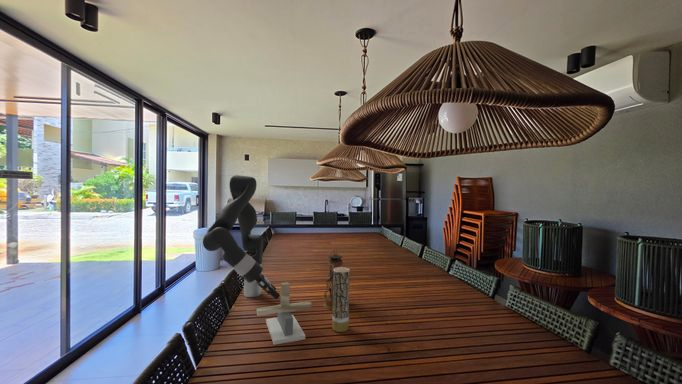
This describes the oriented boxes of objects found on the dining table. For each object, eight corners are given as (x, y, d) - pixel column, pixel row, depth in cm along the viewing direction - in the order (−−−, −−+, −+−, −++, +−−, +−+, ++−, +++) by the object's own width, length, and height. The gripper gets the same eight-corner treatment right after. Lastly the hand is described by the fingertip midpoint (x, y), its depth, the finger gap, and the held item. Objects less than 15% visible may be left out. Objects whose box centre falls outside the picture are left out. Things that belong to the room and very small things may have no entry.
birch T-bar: (256, 313, 112) (257, 285, 112) (309, 305, 120) (309, 280, 121) (257, 316, 109) (258, 287, 109) (311, 308, 118) (311, 282, 118)
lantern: (345, 313, 133) (346, 250, 134) (319, 310, 136) (320, 248, 136) (350, 300, 150) (351, 244, 151) (327, 298, 152) (328, 243, 153)
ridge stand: (266, 322, 121) (266, 303, 122) (293, 318, 126) (293, 300, 126) (273, 344, 103) (274, 323, 103) (305, 339, 108) (305, 318, 108)
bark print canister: (346, 333, 113) (348, 271, 113) (330, 331, 114) (331, 270, 115) (349, 326, 119) (350, 267, 120) (334, 324, 121) (335, 266, 121)
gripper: (257, 264, 104) (286, 292, 108) (252, 256, 117) (279, 281, 121) (241, 280, 102) (272, 307, 106) (239, 270, 115) (266, 295, 119)
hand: (276, 293), depth 113 cm, fingers open, 8 cm apart
